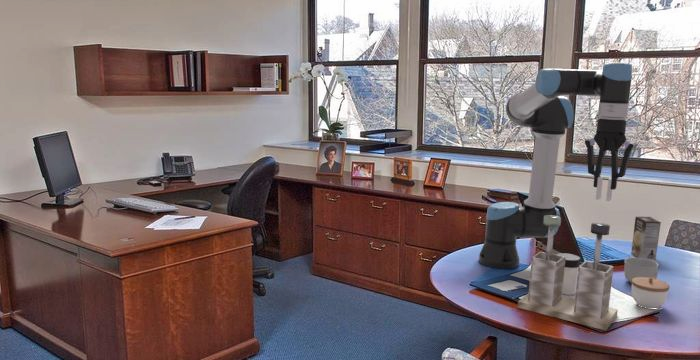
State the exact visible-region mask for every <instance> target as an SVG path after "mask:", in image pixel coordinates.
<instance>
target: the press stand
mask: <svg viewBox="0 0 700 360" xmlns="http://www.w3.org/2000/svg"><path fill="white" fill-rule="evenodd" d="M565 258H566V257H565V256H560V255H556V254H554V253H552V257H551V261H549V260H546V252H543V251H539V252H538V253H536V254H534V255H533V256H531V260H530V261H531V262H530V270H529V282H528V283H529V284H528V293H527V294H526V295H525V296H523V297H522V298H521V299H519V300H518V301H517V308H518V309H522V310H526V311H529V312H533V313H536V314H540V315H545V316H549V317H552V318H557V319H560V320H564V321H567V322H568V321H569V322H572V323H575V324H579V325H582V326H583V325H584V326H587V327H590V328H595V329H598V330H603V331H608V329H609V327H610V326H611V325H612V323H613V322H614V320H615V319H616V317H617V316H618V311H619V309H618V308H616V307H615V308H614V307H610V301H611V300H610V299H611V293H612V283H613V274H614V265H609V264H604V263H600V262H599V271H597V270H593V263H594V261H589V260H585V261H583V263H580V266H579V267H578V276H577V286H576V294H575V295H574V296H575V297H574V298H573V297H568V296H564V295H563V294H562V289H563V279H564V269H565ZM612 321H613V322H612Z"/></svg>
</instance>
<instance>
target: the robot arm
mask: <svg viewBox="0 0 700 360" xmlns="http://www.w3.org/2000/svg"><path fill="white" fill-rule="evenodd" d="M632 70H633V66H632V64H630V63H628V62H605V63H604V65H603V67H602V69H571V68H570V69H566V68H565V69H563V68H553V67H551V68H542V69H540V70H538V72H537V75H536V77H535V83H533V84H532V85H530V86H528V88H526V89H525V90H524V91H522V92H517V93H515V94H514V95H512V96H511V97H509V99H508V100H507V102H506V105H505V112H506V116H507V118H508V119H509V120H510V121H511V122H512V123H513V124H515V125H517V126H519V127H523V128H531V132H532V133H533V135H534V137H535V138H534V147H533V157H532V165H531V174H530V182H529V190H528V191H529V192H528V198H526V199H525V200H523V205H522V206H520V205H519V204H518V202H514V201H499V202H495V203H492V204H490V205H489V206H488V207H487V210H486V211H487V212H486V215H485V220H486V221H485V235H484V243H483V245H482V248H481V250H480V252H479V255H478V262H479V263H480V264H482V265H484V266H486V267H489V268H495V269H502V270H503V269H505V270H507V269H514V268H515V269H516V268H517V267H519V265H520V256H519V253H518V249H517V238H539V239H544V238H548V230H549V226H546V225H544V224H543V221H544V216H545V215H554V216H559V217H561V213H560V210H559V209H558V208H557V206H556V203H555V202H554V201H553V195H554V190H555V188H554V187H555V182H556V181H555V179H556V171H557V163H558V156H559V147H560V139H561V138H562V137H563V136H564V135H565V134H566V130H567V129H571V127H572V124H573V123H574V108H573V105H572V102H571V100H570V99H569V98H568V97H567V96H587V97H589V96H590V97H599V104H598V113H597V115H598V117H599V118H598V119H597V122H596V123H597V124H596V132H595V134H594V136H593V138H589V139H587V140H585V141H584V144H585V147H586V155H587V156H586V157H587V173H588V174H590V175H592V176H593V188H596V191H595V192H596V193H595V200H600V199H601V198H602V189H603V180H604V175H602V176H601V174H602V171H603V165H604V160H605V156H606V153H607V151H609V152H610V156H611V157H610V158H611V177H609V178H608V180H607V181H608V182H607V191H606V198H605V199H606V200H605V201H607V202H610V201H611V200H612V196H613V195H612V194H613V191H615V190H616V189H617V185H618V179H619V178H623V177H624V176H625V175H626V171H627V168H628V164H629V162H630V161H629V160H630V156H631V152H632V151H633V149H634V148H635V147H636V144H635V143H634V142H631V141H629V140H627V137H626V128H627V119H625V118H628V111H629V101H630V95H631V87H632V79H633V75H632V72H633V71H632ZM595 143H596V145H597V146H598V148H599V149H598V155H597V160H596V165H595V151H594V145H595ZM623 145H624V147H623V148H624V149H625V150H624V153H623V157H622V161H621V164H620V167H619V150H620V149H621V147H622V146H623ZM559 228H560V226H559V227H554V236H555V235H556V234H557V232H558V230H559Z"/></svg>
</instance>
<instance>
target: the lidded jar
mask: <svg viewBox="0 0 700 360" xmlns="http://www.w3.org/2000/svg"><path fill="white" fill-rule="evenodd" d="M669 290H670V284H668V283H667V282H666V281H663V280H661V279H658V278H657V279H654V278H652V277H649V278H648V277H636V278H633V279H632V283H631V295H632V299H633V300H634V301H635V303H636V305H637V304H638V305H640V306H642V307H646V308H658V309H659V308H660V307H662V305H664V304H665V302H667V299H668V295H669ZM638 305H637V306H638ZM640 306H639V307H640ZM642 307H641V308H642ZM646 308H645V309H646Z"/></svg>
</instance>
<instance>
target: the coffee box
mask: <svg viewBox="0 0 700 360" xmlns="http://www.w3.org/2000/svg"><path fill="white" fill-rule="evenodd" d="M634 220H635V221H634V228H633V237H632V244H631V254H632V255H633V257H635V258H646V259H650V260H653V261H657V252H658V244H659V238H660V230H661V225H662V224H661V223H662V222H661V221H659V220H657V219H655V218H653V217H652V216H635V219H634Z"/></svg>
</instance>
